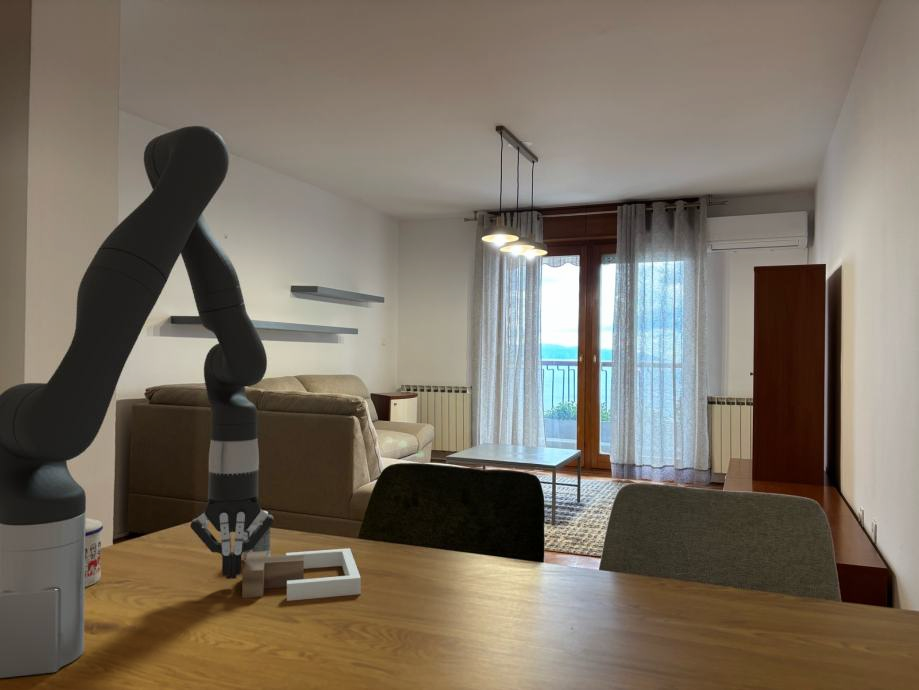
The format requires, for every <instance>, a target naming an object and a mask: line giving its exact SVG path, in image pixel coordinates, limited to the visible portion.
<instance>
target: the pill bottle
mask: <svg viewBox="0 0 919 690" xmlns="http://www.w3.org/2000/svg"><path fill="white" fill-rule="evenodd" d="M263 511H264V512H265V513H267V514H269V512H268V511H267V510H263ZM258 519H259V517H258V516H257V517H256V518H255V520H254V521H253V523H252V524H251V525H250V527H249V528H248V529H247V530H245V531H244V534H243V542H244V541H246V540H248V538H249V537H250V536H251V534H252V533H253V532H254V531H255V529H256V528H257V527H258V526H259V525H258V524H257V521H258ZM258 551H267V557H271V526H270V527H269V529H268V530H267V531H266V532H265V534H264V535H263V536H262V537H261V539H260V540H259V541H258V542H257V544H256V545H255V546H254V548H253V549H252V550H247V551H244V552H243V553H242V561H243V562H245V561H246V558H247V555H248V552H258Z"/></svg>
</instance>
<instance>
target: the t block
mask: <svg viewBox="0 0 919 690" xmlns="http://www.w3.org/2000/svg"><path fill="white" fill-rule="evenodd" d="M304 571H305V570H304V555H295V556H286V555H281V556H270V557H267V551H258V552H248V555H247V558H246V561H244V565H243V568H242V575H241V576H242V579H241V580H242V581H241V582H242V586H241V587H242V591H241V593H242V594H241V595H242V596H241V598H242V599H246V598H247V599H248V598H259V597H264V591H265V589H275V588H277V589H278V588H287V581H289V580H301V579H305V578H304V577H305V576H304V574H305V573H304Z"/></svg>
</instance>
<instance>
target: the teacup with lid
mask: <svg viewBox="0 0 919 690" xmlns="http://www.w3.org/2000/svg"><path fill="white" fill-rule="evenodd" d="M103 529H104V526H103V523H102V522H101V521H100V520H97V519H94V518H93V519H92V518H89V517H86V525H85V588H87V587H89V586H92V585H94V584H96V583H98V582H99V580H100V579H101V574H102V573H101V572H102V571H101V569H102V564H101V563H102V531H103Z"/></svg>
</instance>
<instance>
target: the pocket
mask: <svg viewBox="0 0 919 690" xmlns="http://www.w3.org/2000/svg"><path fill="white" fill-rule="evenodd" d="M295 555H304V569H305V570H306V569H319V568H331V567H341V568H342V571H343V573H344V575H340V576H329V577H316V578H304V579H301V580H289V581H287V587H286V602H289V601H299V600H310V599H321V598H322V599H323V598H333V597H334V598H335V597H342V596H343V597H344V596H345V597H346V596H354V595H361V592H362V588H361V586H362V585H361V584H362V583H361V582H362V579H361V575H360V571H359V569H358V567H357V564H356V561H355V559H354V558H355V557H354V556H353V553H352V551H351V548H349V547H347V548H338V549H337V548H336V549H335V548H334V549H323V550H307V551H295V552H292V551H291V552H285V556H295Z"/></svg>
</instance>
